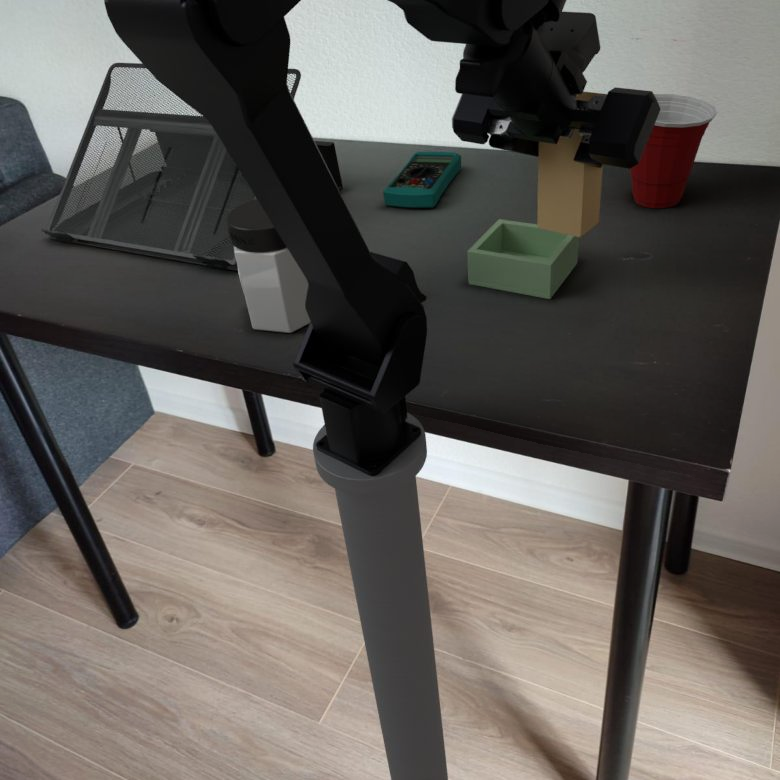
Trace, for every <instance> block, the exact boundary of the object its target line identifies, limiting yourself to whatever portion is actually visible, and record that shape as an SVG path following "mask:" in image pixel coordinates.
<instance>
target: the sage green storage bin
mask: <svg viewBox="0 0 780 780" xmlns="http://www.w3.org/2000/svg"><path fill="white" fill-rule="evenodd" d="M579 239H580V237H576V236H571V235H567V234H563V233H558V232H554V231H549V230H545V229H540V228H537V223H530V222H522V221H516V220H508V219H502V218H501V219H500V218H499V219H498V220H496V222H494V224H492V225H491V227H489V228H488V230H487V231H485V233H484V234H483V235H482V236H481V237H480V238H479V239H478V240H477V241H476V242H475V243H474V244H473V245H472V246H471V247H470V248H469V249H467V251H466V254H467V255H466V256H467V258H466V259H467V278H468V279H467V281H468V285H471V286H475V287H476V286H477V287H483V288H488V289H492V290H499V291H503V292H510V293H515V294H519V295H520V294H521V295H525V296H530V297H536V298H541V299H548V300H551V299H552V297H553V296H554V295H555V293H556V292H557V291H558V289H559V288H560V287H561V286H562V284H563V283H564V282H565V281H566V279H567V278H568V277H569V275H570V274H571V273H572V271H573V270H574V268H575V267H576V266H577V265H578V259H579V258H578V257H579V241H580V240H579Z"/></svg>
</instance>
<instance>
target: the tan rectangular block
mask: <svg viewBox="0 0 780 780" xmlns="http://www.w3.org/2000/svg"><path fill="white" fill-rule="evenodd" d="M607 94H608V93H601V92H591V91H583V93H582V94H577V95H576V98H575V99H576V100H582V101H589V100H590V99H591V98H592V97H594V96H596V95H604V96H607ZM578 132H579V129H574V132H573V134H572V136H571V138H561V137H559V140H558V142H557V144H552V143H545V142H539V157H537V158H538V159H537V160H538V162H537V163H538V165H537V166H538V167H537V169H538V170H537V177H538V178H537V218H536V219H537V222H536V224H537V228H540V229H545V230H549V231H554V232H558V233H563V234H567V235H571V236H576V237H579V238H582V237H583V236H585V234H587V233H588V232H589V231H590V230H592V229H593V228H594V227H596V225H598V224H599V223H600V213H601V210H600V209H601V199H602V196H601V195H602V185H603V169H604V164H603V165H602V167H601V168H597V167H593V166H589V165H586V164H583V163H579V162H576V161H574V160H573V159H574V157H575V154H576V152H577V149H578V147H579V144H580V142H581V139H582V136H580V134H579V133H578Z"/></svg>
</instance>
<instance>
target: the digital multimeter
mask: <svg viewBox="0 0 780 780" xmlns="http://www.w3.org/2000/svg"><path fill="white" fill-rule="evenodd" d="M461 169H462V155H460V154H459V153H456V152H450V151H448V152H447V151H417V152H415V153H414V154H412V156H411V157H410V159H409V160H408V162H407V163H406V164H405V166H404V167H403V168H402V170H401V171H400V172H399V173H398V174H397V175H396V177H394V178H393V180H392V181H391V182H390V183H389V184H388V186H387V187H385V188H384V190H383V191H382V194H383V202H384V205H386V206H387V207H394V208H407V209H408V208H409V209H433V208H435V206H436V205H437V204H438V201H439V200H440V198H441V197H442V195H443V193H444V192H445V190H446V189H447V188H448V186H449V185H450V183H451V182H452V180H453V179H454V178H455V177H456V175H457V174H458V173H459V172H460V170H461Z"/></svg>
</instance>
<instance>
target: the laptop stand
mask: <svg viewBox="0 0 780 780" xmlns="http://www.w3.org/2000/svg"><path fill="white" fill-rule="evenodd" d="M301 78H302V74H301V71H300V70H299V69H297V68H288V75H287V85H288V88H289V90H290V93H291V95H292V97H293V99H294V100H295V97H296V94H297V91H298V88H299V86H300V81H301ZM157 81H158V80H157V79H156V78H155V77H154V76H153V75H152V74H151V72H150V71H149V70H148V69H147V68H146V67H145V66H144V65H143V64H142V62H141V63H139V62H138V63H137V62H115V63H112V64H111V65H110V66H109V68H108V70H107V72H106V75H105V78H104V79H103V83H102V85H101V87H100V90H99V92H98V95H97V98H96V100H95V102H94V105H93V108H92V111H91V113H90V116H89V118H88V121H87V124H86V126H85V128H84V131H83V134H82V137H81V139H80V141H79V144H78V147H77V149H76V152H75V153H74V157H73V159H72V162H71V165H70V167H69V170H68V172H67V175H66V177H65V181H63V182H64V183H63V185H62V187H61V190H60V193H59V194H58V195H59V196H58V198H57V200H56V203H55V206H54V208H53V211H52V213H51V216H50V219H49V221H48V224H47V225H46V226H47V227H46V229H43V228H41V229H40V231H41V232H43V233H44V234H45V235H48V236H49V240H54V241H57V242H58V241H59V242H63V243H69V244H77V245H83V246H90V247H95V248H100V249H106V250H112V251H118V252H123V253H129V254H136V255H141V256H147V257H151V258H158V259H164V260H170V261H175V262H181V263H189V264H194V265H199V266H205V267H209V268H215V269H220V270H224V271H225V270H226V271H234V272H238V266H237V262H236V258H235V254H234V245H233V244H232V241H231V238H230V236H229V232H228V224H227V216H228V214H229V213H230V212H231V211H232V210H233V209H234V208H236V207H237V206H239V205H241V204H243V203H246V202H249V201H252V200H255V199H257V198H256V196H255V195H254V193H253V192H252V190H251V188H250V187H249V185H248V183H247V182H246V180H245V179H244V177H243V175H242V174H241V172H240V170H239V169H238V167H237V166H236V164H235V162H234V161H233V159H232V158H231V156H230V154H229V153H228V151H227V149H226V148H225V146H224V145H223V143H222V141H221V140H220V138H219V136H218V135H217V133H216V132H215V130H214V128H213V127H212V125H211V124H210V123H209V122H208V120H207V119H206V118H205V117H203V116H202V115H201V114H200V113H198V112H197V111H196V110H195V109H193V108H192V107H191V106H190V105H188V104H187V103H186V102H184V103H183V100H182V99H181V98H179V97H178V96H177V95H175V94H174V93H173V92H172V91H169V89H168V88H167V87H164V85H163V84H161V83H160V82H157ZM156 89H157V90H156ZM162 94H163V95H162ZM167 101H168V102H167ZM143 104H144V105H143ZM103 127H104V128H103ZM115 135H116V136H115ZM146 141H147V142H146ZM314 141H315V143H316V145H317V147H318V149H319V151H320V153H321V155H322V157H323V159H324V161H325V163H326V165H327V167H328V169H329V171H330V173H331V175H332V177H333V179H334V181H335V183H336V185H337V187H338V189H339V191H340V192H341V191H342V190H344V186H343V180H342V175H341V170H340V166H339V160H338V155H337V150H336V145H335V142H334V141H325V140H324V141H323V140H314ZM115 144H116V145H115ZM100 147H102V148H100ZM97 177H98V178H97ZM85 189H86V190H85ZM74 208H75V209H74Z"/></svg>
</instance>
